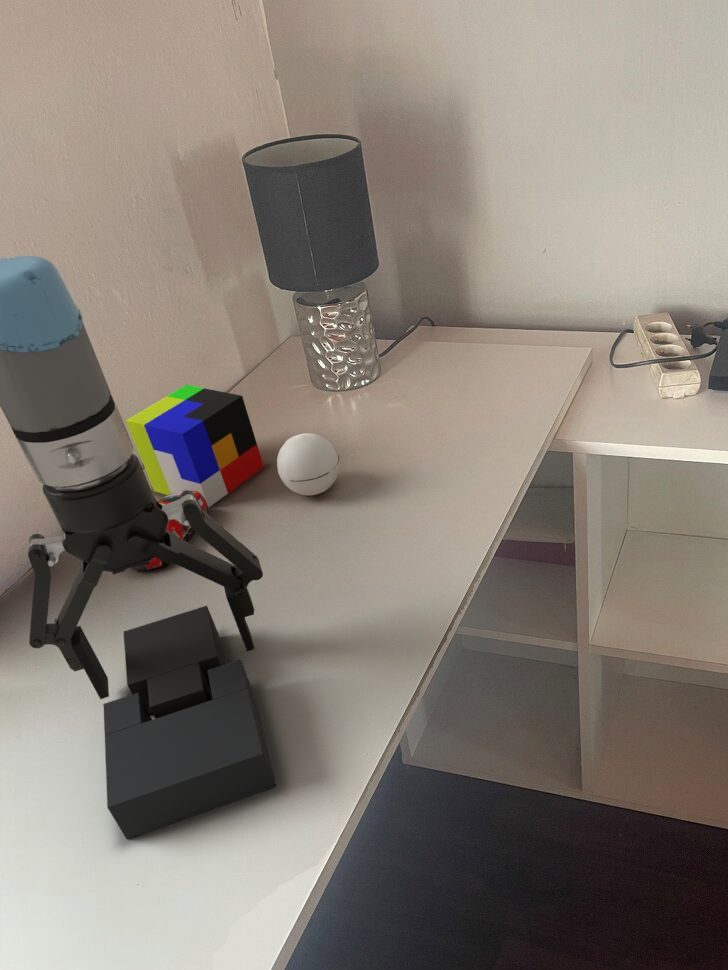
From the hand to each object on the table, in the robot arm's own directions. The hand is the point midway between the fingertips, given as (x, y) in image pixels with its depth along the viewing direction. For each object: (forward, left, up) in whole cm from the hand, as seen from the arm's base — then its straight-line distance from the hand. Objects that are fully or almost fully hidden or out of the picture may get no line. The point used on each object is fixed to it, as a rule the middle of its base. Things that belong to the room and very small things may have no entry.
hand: (177, 665), depth 81 cm
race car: (-24, +1, -1) cm, 25 cm away
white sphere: (-25, +20, -1) cm, 32 cm away
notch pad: (+12, 0, -1) cm, 12 cm away
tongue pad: (+2, 0, -1) cm, 2 cm away
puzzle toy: (-36, +7, -1) cm, 37 cm away
